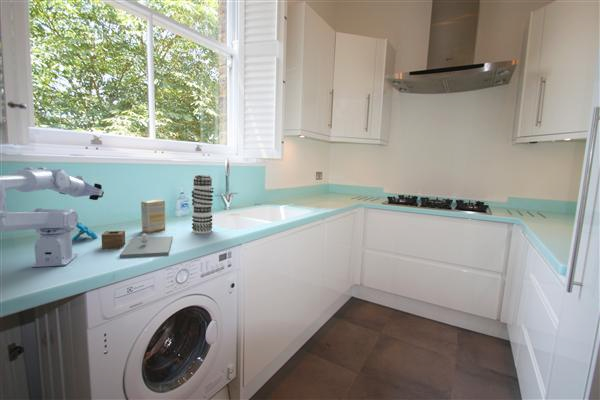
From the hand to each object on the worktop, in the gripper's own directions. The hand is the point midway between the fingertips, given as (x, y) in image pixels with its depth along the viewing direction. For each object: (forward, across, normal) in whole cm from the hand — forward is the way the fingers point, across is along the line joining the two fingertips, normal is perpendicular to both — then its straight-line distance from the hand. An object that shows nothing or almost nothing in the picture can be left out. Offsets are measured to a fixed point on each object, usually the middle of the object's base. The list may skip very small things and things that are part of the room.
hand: (90, 192), depth 104 cm
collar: (-1, -13, +17) cm, 22 cm away
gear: (+8, +1, +17) cm, 19 cm away
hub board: (-2, -25, +15) cm, 29 cm away
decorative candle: (+21, -38, +6) cm, 44 cm away
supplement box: (+22, -18, +10) cm, 30 cm away
